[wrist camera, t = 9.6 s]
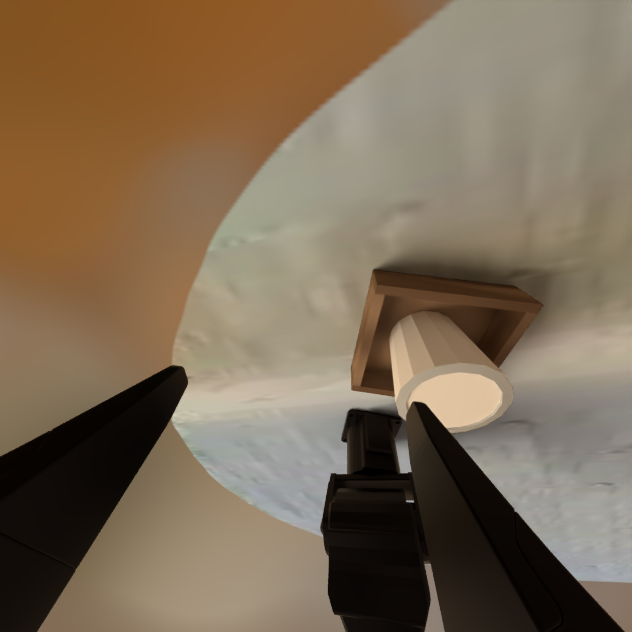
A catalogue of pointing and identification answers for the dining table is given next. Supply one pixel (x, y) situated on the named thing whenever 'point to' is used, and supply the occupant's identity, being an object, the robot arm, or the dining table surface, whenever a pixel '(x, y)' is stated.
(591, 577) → the dining table surface
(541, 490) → the dining table surface
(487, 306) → the walnut crate
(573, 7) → the dining table surface
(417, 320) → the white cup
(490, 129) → the dining table surface
